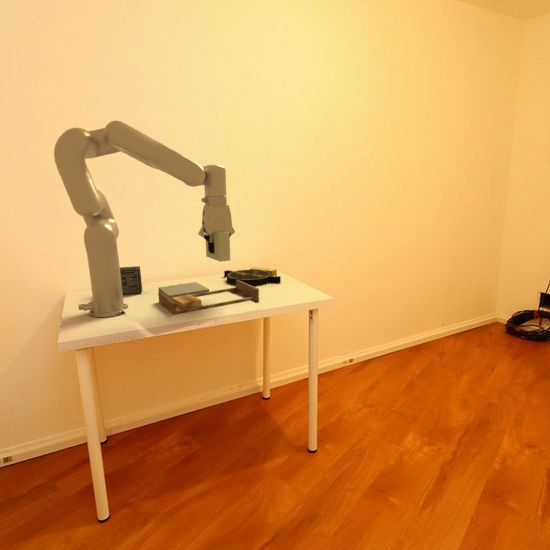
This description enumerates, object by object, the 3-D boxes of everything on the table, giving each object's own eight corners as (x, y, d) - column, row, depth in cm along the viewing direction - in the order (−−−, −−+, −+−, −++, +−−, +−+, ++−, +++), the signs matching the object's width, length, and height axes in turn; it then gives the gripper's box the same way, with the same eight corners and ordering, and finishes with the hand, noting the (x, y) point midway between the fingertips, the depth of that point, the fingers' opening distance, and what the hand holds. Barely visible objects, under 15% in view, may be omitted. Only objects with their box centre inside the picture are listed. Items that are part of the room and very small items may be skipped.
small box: (142, 290, 161) (140, 265, 158) (141, 294, 154) (139, 268, 152) (115, 291, 158) (113, 267, 156) (113, 296, 152) (110, 270, 150)
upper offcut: (183, 309, 131) (182, 303, 131) (172, 303, 138) (171, 297, 137) (201, 305, 135) (201, 299, 135) (189, 299, 142) (189, 294, 142)
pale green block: (219, 261, 134) (218, 233, 132) (206, 256, 144) (205, 229, 142) (230, 260, 136) (229, 232, 134) (216, 255, 146) (215, 229, 144)
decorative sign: (292, 270, 180) (266, 282, 159) (292, 277, 181) (267, 290, 160) (240, 265, 194) (210, 275, 172) (240, 271, 194) (210, 282, 173)
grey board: (169, 302, 144) (169, 295, 143) (158, 293, 155) (158, 287, 154) (209, 295, 152) (209, 289, 151) (196, 287, 163) (195, 281, 163)
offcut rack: (174, 318, 126) (173, 303, 125) (159, 305, 140) (158, 292, 139) (258, 301, 143) (258, 288, 142) (238, 291, 157) (238, 279, 156)
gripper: (197, 202, 128) (200, 256, 132) (241, 201, 137) (242, 251, 141) (189, 201, 134) (192, 253, 138) (232, 200, 143) (233, 248, 147)
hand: (217, 251), depth 139 cm, fingers closed on pale green block, 4 cm apart
